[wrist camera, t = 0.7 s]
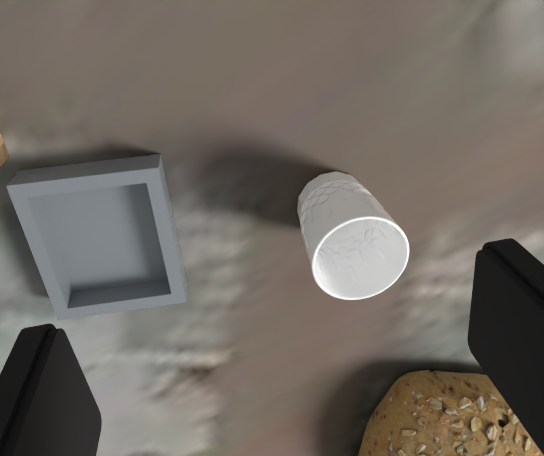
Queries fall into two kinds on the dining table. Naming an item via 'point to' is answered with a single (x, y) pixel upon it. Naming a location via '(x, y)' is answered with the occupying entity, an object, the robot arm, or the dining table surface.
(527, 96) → the dining table surface
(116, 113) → the dining table surface
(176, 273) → the tray
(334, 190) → the white cup
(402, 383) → the bread
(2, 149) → the holder
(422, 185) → the dining table surface
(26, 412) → the robot arm
